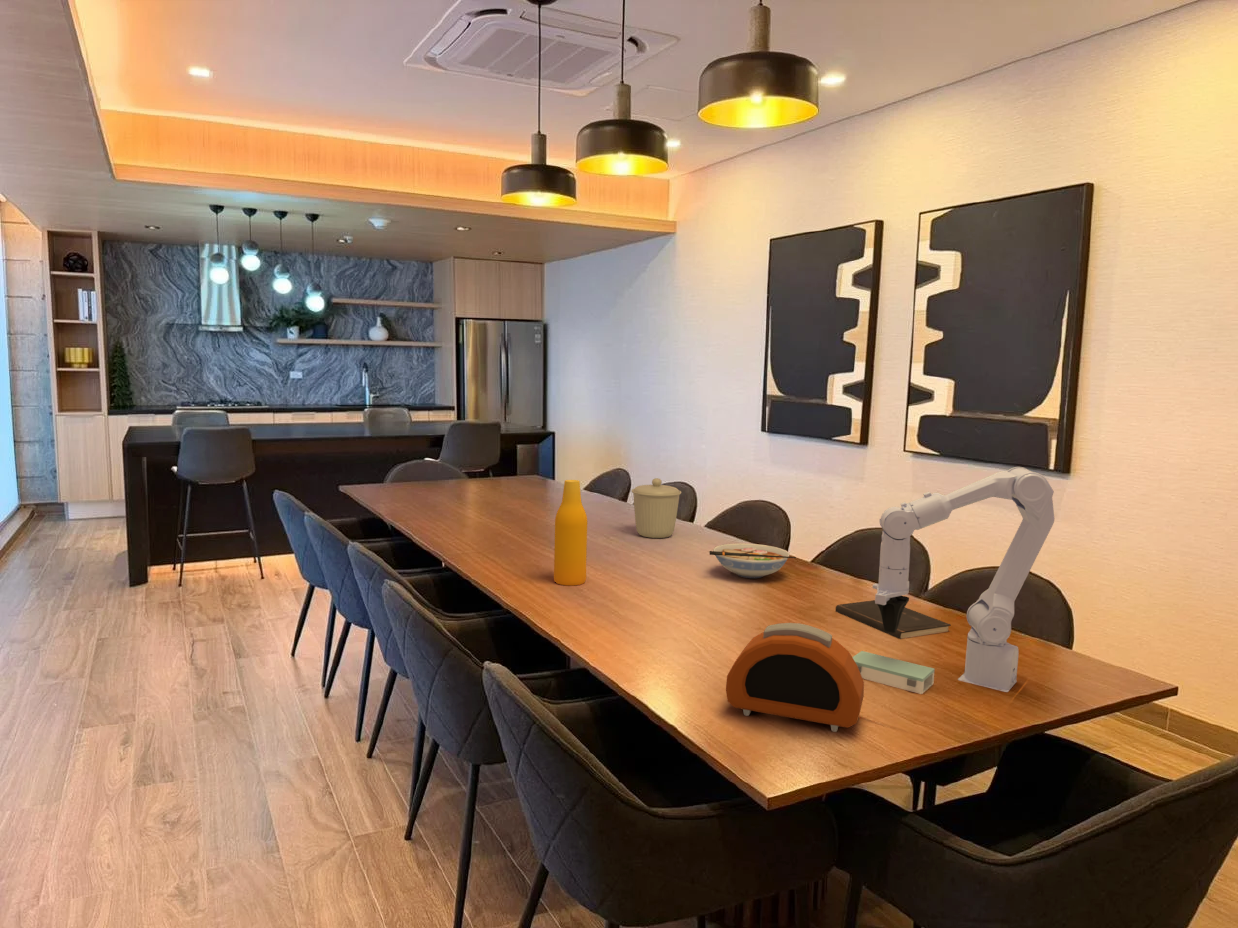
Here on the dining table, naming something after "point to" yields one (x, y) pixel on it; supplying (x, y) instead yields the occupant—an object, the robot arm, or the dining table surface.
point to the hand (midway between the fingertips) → (890, 631)
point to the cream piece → (896, 680)
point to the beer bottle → (570, 537)
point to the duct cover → (893, 666)
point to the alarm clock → (797, 677)
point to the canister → (655, 509)
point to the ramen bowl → (750, 559)
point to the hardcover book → (908, 623)
